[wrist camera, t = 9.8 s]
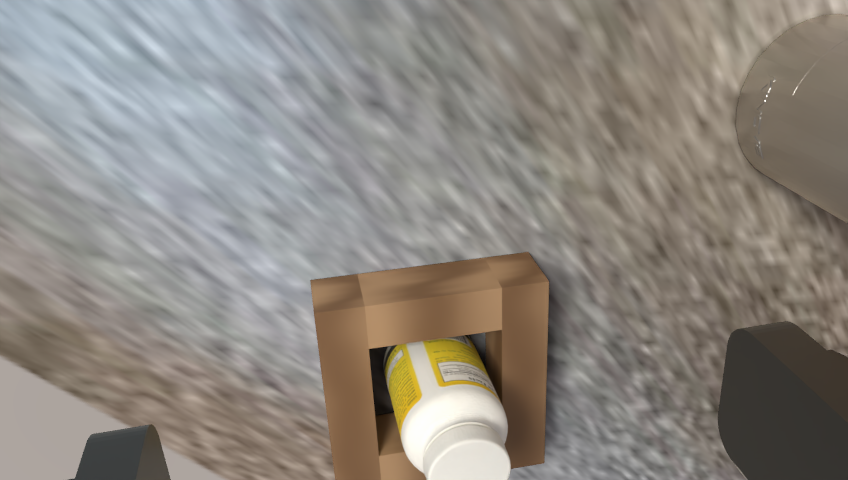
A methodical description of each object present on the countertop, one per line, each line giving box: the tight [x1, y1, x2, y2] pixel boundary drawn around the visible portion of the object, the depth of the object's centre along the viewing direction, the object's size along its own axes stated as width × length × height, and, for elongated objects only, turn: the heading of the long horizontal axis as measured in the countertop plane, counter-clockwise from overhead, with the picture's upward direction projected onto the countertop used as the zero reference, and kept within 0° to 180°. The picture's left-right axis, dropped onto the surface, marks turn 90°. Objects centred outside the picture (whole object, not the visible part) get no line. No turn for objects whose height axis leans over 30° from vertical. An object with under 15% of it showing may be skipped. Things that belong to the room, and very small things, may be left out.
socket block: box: [310, 252, 549, 480], centre depth 42 cm, size 12×12×4 cm
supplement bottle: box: [383, 335, 511, 480], centre depth 39 cm, size 5×5×10 cm
